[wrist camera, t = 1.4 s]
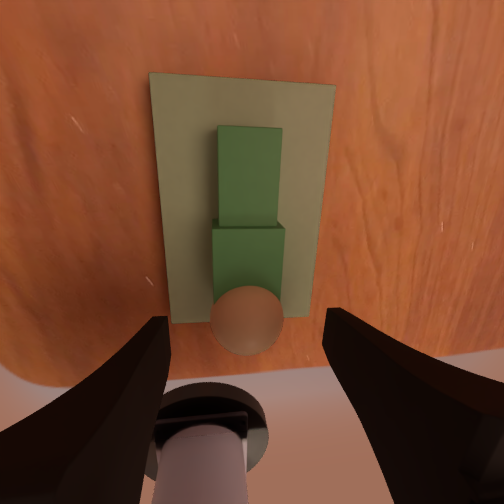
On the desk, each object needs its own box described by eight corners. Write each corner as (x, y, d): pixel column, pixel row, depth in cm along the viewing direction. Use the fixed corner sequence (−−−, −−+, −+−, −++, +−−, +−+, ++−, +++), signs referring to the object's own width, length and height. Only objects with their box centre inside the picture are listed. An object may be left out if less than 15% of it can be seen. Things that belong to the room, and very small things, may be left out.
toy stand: (302, 306, 17) (309, 316, 16) (174, 312, 16) (171, 324, 14) (326, 91, 13) (336, 84, 12) (154, 79, 12) (148, 71, 10)
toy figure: (273, 323, 15) (289, 370, 12) (211, 326, 15) (209, 376, 11) (285, 132, 12) (312, 122, 8) (205, 128, 11) (200, 116, 8)
